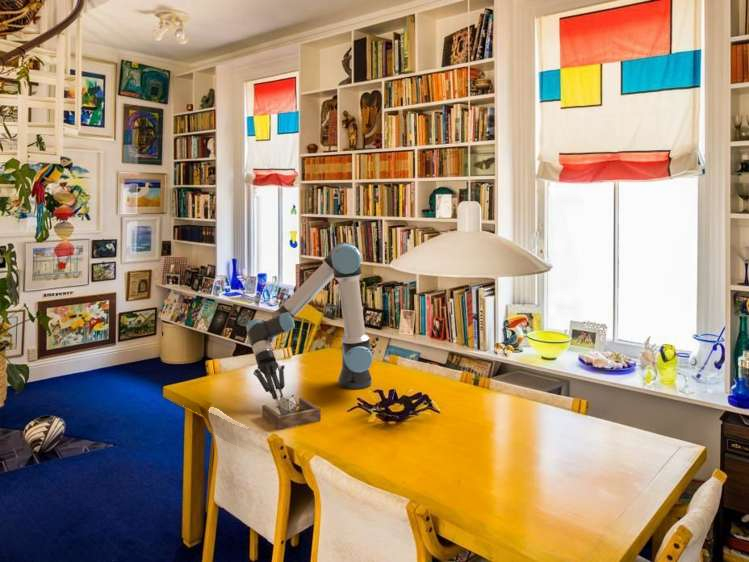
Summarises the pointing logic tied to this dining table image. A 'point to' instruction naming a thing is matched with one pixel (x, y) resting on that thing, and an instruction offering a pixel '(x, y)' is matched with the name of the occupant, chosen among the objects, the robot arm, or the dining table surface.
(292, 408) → the grey spiked ball
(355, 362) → the robot arm
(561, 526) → the dining table surface
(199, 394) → the dining table surface
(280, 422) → the shallow brown tray
